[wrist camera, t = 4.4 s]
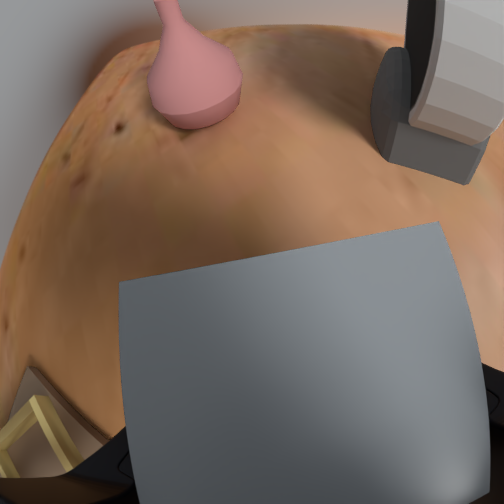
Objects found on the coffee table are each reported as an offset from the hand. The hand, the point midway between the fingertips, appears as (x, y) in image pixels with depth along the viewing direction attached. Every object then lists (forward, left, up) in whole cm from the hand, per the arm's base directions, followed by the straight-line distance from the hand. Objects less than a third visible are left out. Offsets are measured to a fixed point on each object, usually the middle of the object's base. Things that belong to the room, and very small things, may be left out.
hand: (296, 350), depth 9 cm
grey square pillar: (-1, +1, -7) cm, 7 cm away
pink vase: (+15, -15, -8) cm, 23 cm away
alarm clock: (-3, -22, -8) cm, 23 cm away
